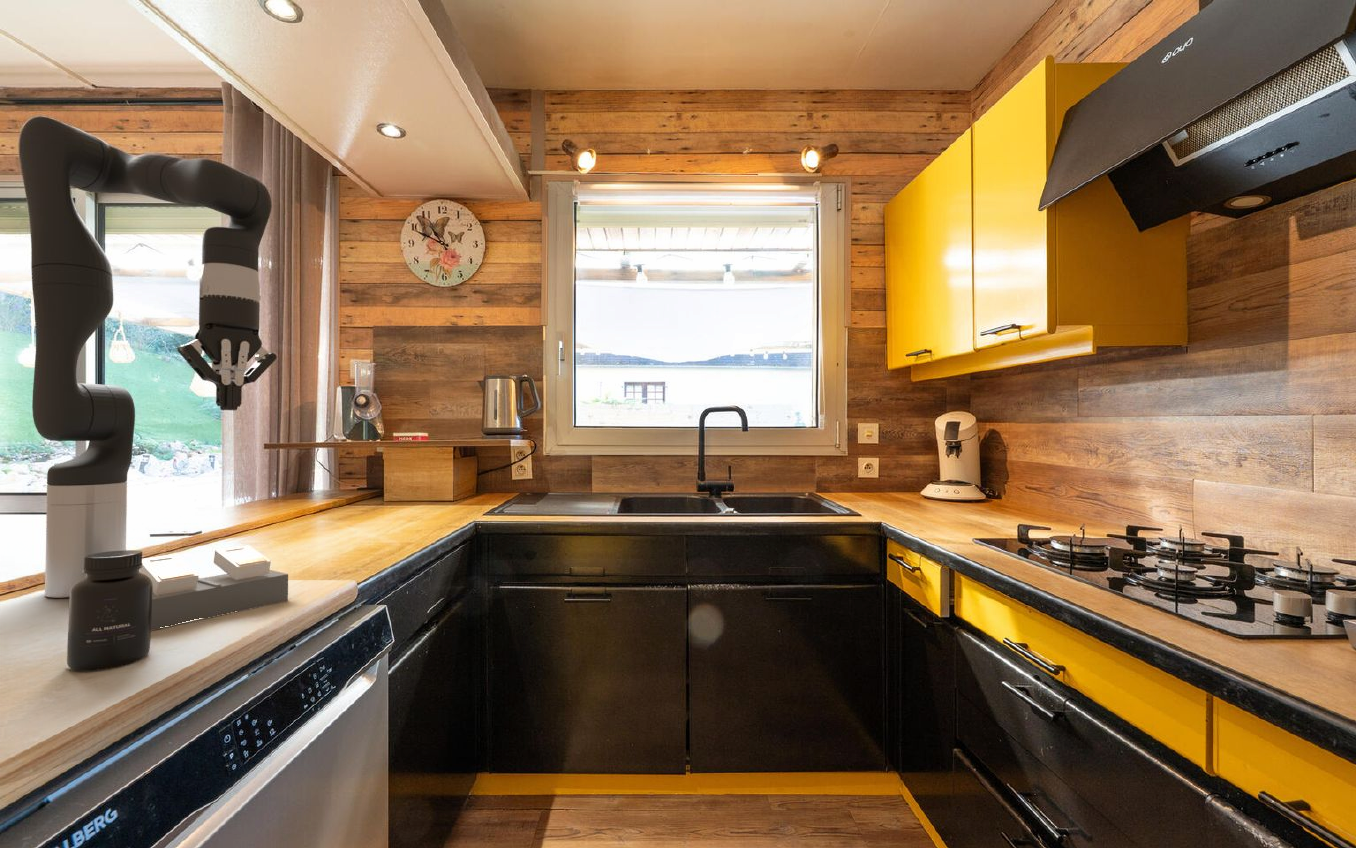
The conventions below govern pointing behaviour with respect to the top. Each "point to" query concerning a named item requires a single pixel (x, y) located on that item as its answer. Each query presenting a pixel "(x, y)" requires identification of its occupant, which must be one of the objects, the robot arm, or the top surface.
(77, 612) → the supplement bottle
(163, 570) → the block
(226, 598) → the switch panel
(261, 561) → the rocker
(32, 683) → the top surface
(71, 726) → the top surface
